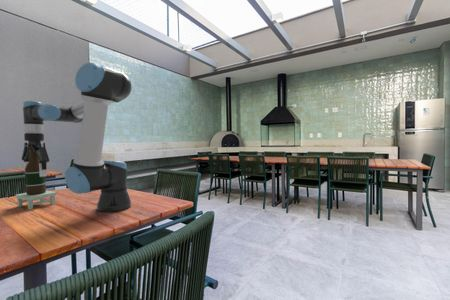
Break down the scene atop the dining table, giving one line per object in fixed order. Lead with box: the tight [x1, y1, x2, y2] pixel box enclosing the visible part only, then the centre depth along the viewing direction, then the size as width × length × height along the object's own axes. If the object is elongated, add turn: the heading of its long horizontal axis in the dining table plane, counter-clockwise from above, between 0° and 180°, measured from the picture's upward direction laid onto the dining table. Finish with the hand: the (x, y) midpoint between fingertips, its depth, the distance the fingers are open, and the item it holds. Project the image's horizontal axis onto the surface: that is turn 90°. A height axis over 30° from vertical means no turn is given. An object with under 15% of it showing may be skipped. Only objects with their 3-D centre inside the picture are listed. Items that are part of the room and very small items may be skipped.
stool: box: [14, 190, 57, 211], centre depth 116 cm, size 12×12×6 cm
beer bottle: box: [24, 146, 47, 195], centre depth 115 cm, size 8×8×24 cm
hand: (35, 175), depth 116 cm, fingers open, 13 cm apart
